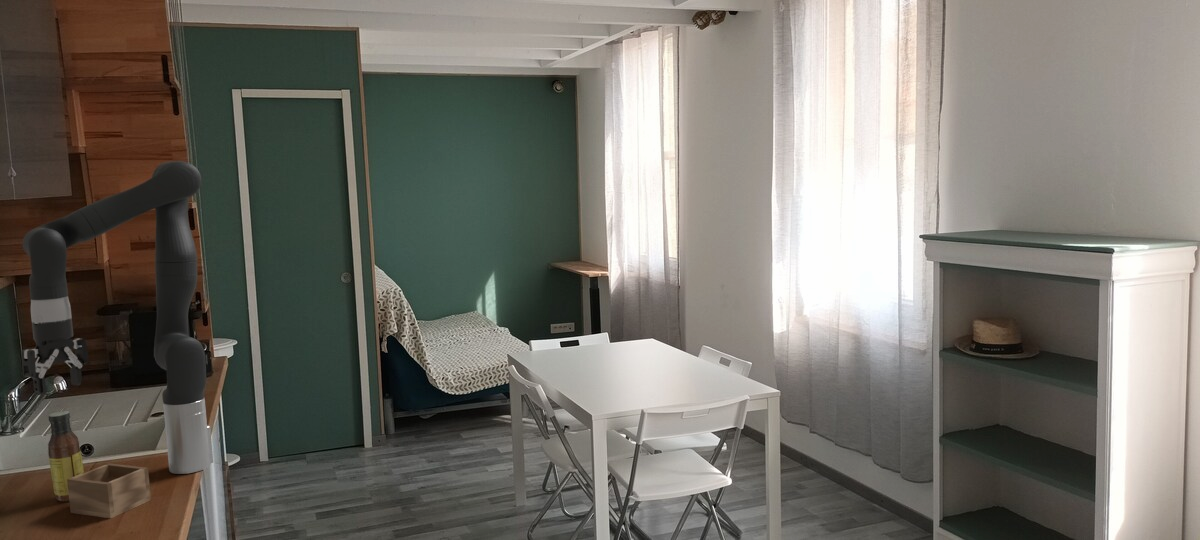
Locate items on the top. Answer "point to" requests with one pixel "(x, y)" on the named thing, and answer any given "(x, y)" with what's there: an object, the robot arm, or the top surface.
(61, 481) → the sauce bottle
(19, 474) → the top surface
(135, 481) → the box
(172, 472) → the robot arm
